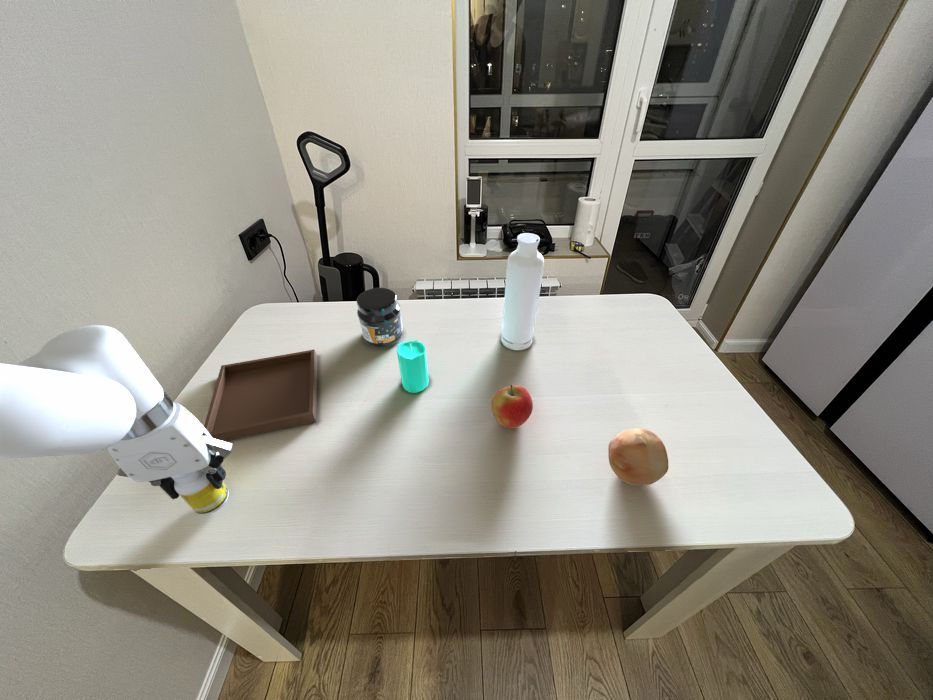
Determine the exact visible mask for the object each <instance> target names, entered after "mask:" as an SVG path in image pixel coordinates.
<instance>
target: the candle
mask: <svg viewBox="0 0 933 700" xmlns="http://www.w3.org/2000/svg"><path fill="white" fill-rule="evenodd" d="M396 355H397V362H398V368H399V374H400V380H401V386H402V387H403V389H404V390H405V391H406V392H408V393H415V394H417V393H420V392H422V391H424V390H425V389H426V388H427V387H428V386H429V373H428V372H429V371H428V361H427V350H426V346H425V344H424V343H423V342H422V341H419V340H407V341H402V342H401V343H399V344H398V345H397V348H396Z"/></svg>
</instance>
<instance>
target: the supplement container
mask: <svg viewBox="0 0 933 700" xmlns="http://www.w3.org/2000/svg"><path fill="white" fill-rule="evenodd" d="M397 296H398V295H397V294H396V293H395V291H393V290H392V289H390V288H388V287H387V288H386V287H373V288H368V289H366V290H364V291H363V292H361V293H360V294H359V295H358V296H357V298H356V305H357V310H356V311H357V312H356V315H357V317H358V320H359V321H358V322H359V324H360V329H361V333H362V339H363V340H364V342H365V343H366V344H367V345H370V346H371V347H375V348H387V347H390V346H393V345H395V344H397V343H398V342H399V341H401V339H402V338H403V336H404V327H403V321H402V314H401V305H400V304H399V302H398V297H397Z"/></svg>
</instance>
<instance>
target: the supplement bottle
mask: <svg viewBox="0 0 933 700" xmlns="http://www.w3.org/2000/svg"><path fill="white" fill-rule="evenodd" d="M206 473H207V472H205V471H203V470H202V469H201V470H198V471H194V472H190V473H186V474H181V475H177V476H172V479H173V480H174V481H175V482H174V488H175V490H176V492H177V493H178V494H179V497H181V498H182V500H183V501H184V502H186V504H187V505H188V507H190V508H191V510H193V511H194V513H195V514H197V515H199V516H207V515H208V516H209V515H211V514H214V513H216V512H218V511H219V510H220V509H221V508H222V507H224V505H225V504H226V503H227V501H228V500H229V496H230V492H229V488H228V487H227V486H226V484H225V483H224V481H223V482H222V487H221V488H220V489H215V488H214V486H213V485H212V484H211V483H210V482H209V480H208V479H207V478H206Z"/></svg>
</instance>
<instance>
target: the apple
mask: <svg viewBox="0 0 933 700" xmlns="http://www.w3.org/2000/svg"><path fill="white" fill-rule="evenodd" d="M490 407H491V412H492V415H493V417H494V419H495V420H496V422H497V423H498V424H499V425H501V426H502V427H504V428H506V429H515V428H519V427H520V426H522V425H524V424H525V423H526V422H527V421H528V420H529V418H530V417H531V415H532V413H533V409H534V403H533V398H532V396H531V394H530V392H529V391H528V389H526V387H524V386H522V385H518V384H517V385H515V384H514V385H512V384H509V385H508V386H504V387H502V388H500V389H498V390H497V391H495V393H494V395H492V399H491V405H490Z"/></svg>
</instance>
